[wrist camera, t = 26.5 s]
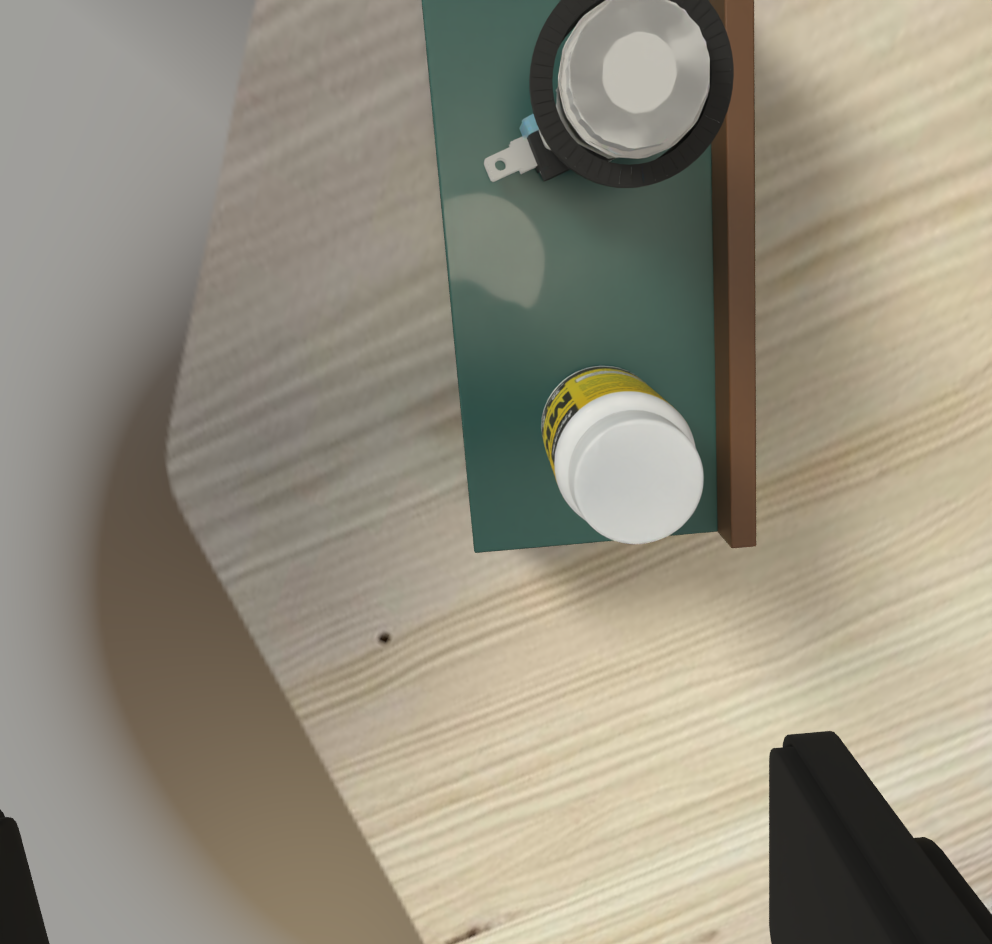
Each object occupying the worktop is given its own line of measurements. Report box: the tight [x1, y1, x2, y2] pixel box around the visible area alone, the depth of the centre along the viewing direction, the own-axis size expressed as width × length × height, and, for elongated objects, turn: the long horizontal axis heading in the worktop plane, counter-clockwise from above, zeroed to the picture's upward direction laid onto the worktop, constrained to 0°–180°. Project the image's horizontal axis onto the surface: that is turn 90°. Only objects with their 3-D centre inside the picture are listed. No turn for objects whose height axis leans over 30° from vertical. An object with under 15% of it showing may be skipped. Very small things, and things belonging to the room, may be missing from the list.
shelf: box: [422, 0, 756, 553], centre depth 34 cm, size 11×22×8 cm, turn 5°
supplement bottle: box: [541, 366, 704, 544], centre depth 30 cm, size 5×5×8 cm
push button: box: [484, 0, 734, 188], centre depth 26 cm, size 7×5×10 cm
